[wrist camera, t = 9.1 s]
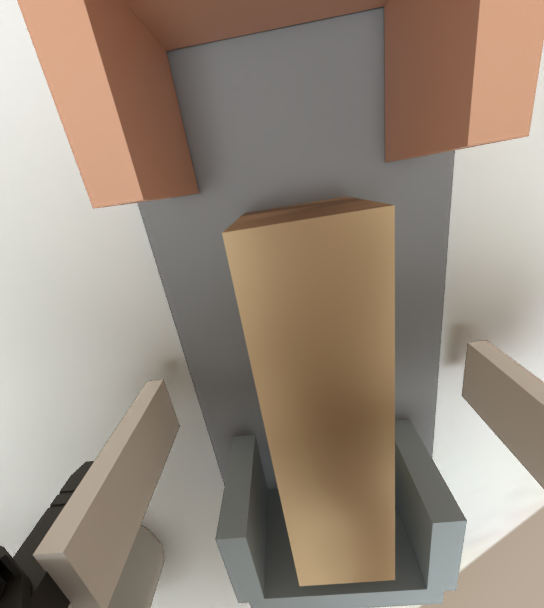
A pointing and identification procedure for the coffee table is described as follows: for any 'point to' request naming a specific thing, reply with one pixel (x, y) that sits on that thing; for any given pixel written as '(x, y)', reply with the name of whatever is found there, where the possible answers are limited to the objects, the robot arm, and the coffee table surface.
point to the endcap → (261, 17)
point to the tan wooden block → (325, 375)
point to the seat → (223, 304)
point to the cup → (139, 573)
